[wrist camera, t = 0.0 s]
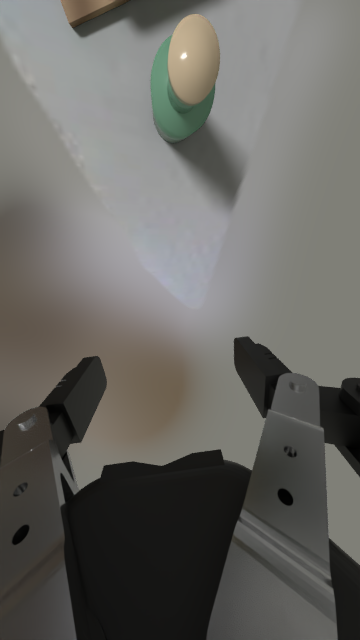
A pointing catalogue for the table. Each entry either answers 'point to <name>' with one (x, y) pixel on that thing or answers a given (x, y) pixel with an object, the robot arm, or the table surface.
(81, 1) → the bottle rest
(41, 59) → the table surface
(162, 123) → the bottle
